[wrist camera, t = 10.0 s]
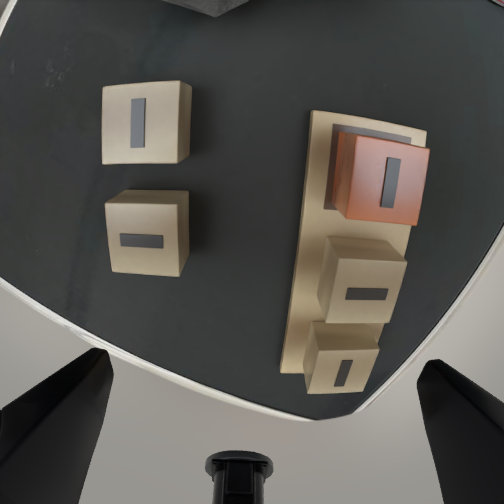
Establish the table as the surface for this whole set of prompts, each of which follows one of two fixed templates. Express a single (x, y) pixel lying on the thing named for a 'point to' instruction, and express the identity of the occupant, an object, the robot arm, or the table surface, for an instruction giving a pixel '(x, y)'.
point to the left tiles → (147, 151)
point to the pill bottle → (499, 2)
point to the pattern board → (331, 223)
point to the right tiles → (350, 312)
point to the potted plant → (209, 5)
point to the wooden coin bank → (379, 179)
